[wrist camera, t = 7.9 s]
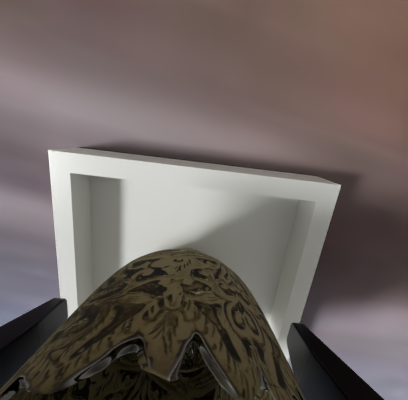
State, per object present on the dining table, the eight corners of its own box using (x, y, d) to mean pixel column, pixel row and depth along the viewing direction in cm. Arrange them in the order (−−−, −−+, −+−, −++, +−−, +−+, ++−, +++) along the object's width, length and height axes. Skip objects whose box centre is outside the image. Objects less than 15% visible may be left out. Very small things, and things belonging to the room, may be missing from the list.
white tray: (272, 355, 14) (282, 390, 12) (86, 336, 14) (66, 369, 12) (321, 176, 11) (346, 185, 9) (77, 147, 10) (48, 149, 8)
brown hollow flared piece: (205, 347, 13) (205, 649, 5) (92, 291, 12) (-109, 564, 4) (283, 253, 11) (448, 502, 4) (158, 178, 10) (15, 300, 3)
